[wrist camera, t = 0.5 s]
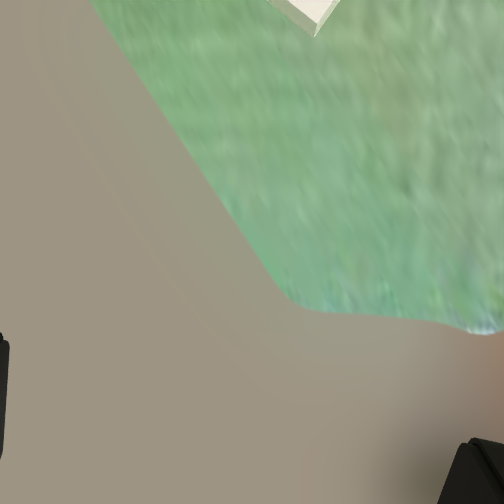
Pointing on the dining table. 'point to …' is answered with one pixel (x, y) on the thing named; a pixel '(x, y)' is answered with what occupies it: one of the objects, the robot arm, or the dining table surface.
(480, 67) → the dining table surface
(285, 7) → the white block with knob
